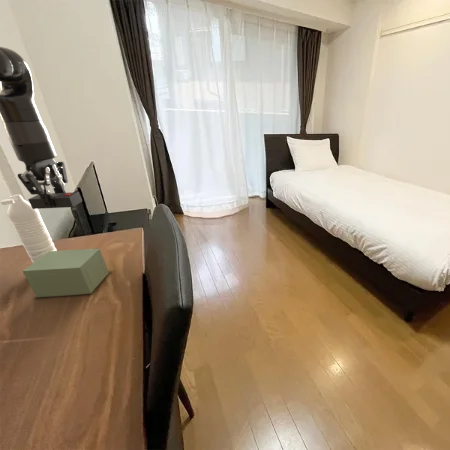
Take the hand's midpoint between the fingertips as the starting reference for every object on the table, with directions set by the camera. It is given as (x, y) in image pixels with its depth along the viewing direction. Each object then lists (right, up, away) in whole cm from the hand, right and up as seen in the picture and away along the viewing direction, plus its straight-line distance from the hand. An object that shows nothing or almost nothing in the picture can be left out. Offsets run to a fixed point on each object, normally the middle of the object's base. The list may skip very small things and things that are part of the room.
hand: (57, 203), depth 75 cm
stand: (+1, -24, +5) cm, 24 cm away
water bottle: (-13, -21, +12) cm, 27 cm away
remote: (0, 0, 0) cm, 1 cm away
